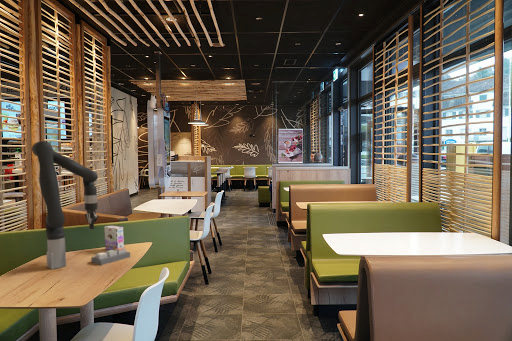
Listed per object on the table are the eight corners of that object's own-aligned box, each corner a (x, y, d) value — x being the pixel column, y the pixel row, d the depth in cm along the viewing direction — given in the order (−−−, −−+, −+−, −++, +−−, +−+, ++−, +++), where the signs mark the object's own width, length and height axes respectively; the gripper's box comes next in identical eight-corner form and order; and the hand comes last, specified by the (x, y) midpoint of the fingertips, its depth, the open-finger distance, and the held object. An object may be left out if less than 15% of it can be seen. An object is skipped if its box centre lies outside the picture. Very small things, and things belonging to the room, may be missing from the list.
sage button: (110, 255, 222) (109, 252, 221) (106, 254, 224) (106, 251, 224) (115, 254, 224) (115, 250, 224) (112, 253, 227) (112, 249, 226)
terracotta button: (119, 253, 227) (119, 249, 227) (116, 252, 229) (116, 248, 229) (124, 251, 230) (124, 248, 230) (121, 251, 232) (121, 247, 232)
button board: (101, 265, 213) (100, 257, 213) (91, 262, 219) (91, 254, 219) (130, 256, 229) (130, 249, 229) (120, 254, 236) (120, 246, 235)
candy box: (124, 250, 246) (123, 226, 245) (117, 252, 241) (116, 228, 240) (112, 247, 253) (111, 225, 252) (104, 249, 248) (103, 226, 247)
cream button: (100, 258, 216) (100, 254, 216) (97, 257, 218) (96, 253, 218) (105, 256, 219) (105, 253, 219) (102, 256, 221) (102, 252, 221)
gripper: (80, 202, 227) (80, 228, 227) (90, 203, 218) (91, 231, 219) (91, 200, 233) (92, 226, 233) (101, 202, 224) (102, 229, 225)
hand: (91, 228), depth 226 cm, fingers closed
